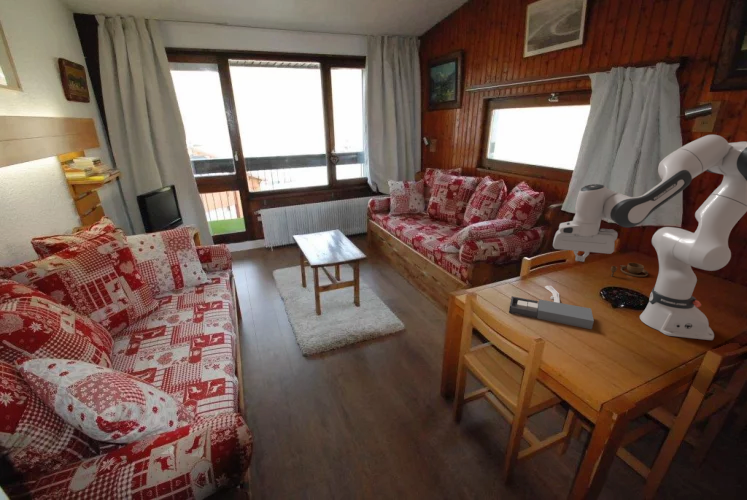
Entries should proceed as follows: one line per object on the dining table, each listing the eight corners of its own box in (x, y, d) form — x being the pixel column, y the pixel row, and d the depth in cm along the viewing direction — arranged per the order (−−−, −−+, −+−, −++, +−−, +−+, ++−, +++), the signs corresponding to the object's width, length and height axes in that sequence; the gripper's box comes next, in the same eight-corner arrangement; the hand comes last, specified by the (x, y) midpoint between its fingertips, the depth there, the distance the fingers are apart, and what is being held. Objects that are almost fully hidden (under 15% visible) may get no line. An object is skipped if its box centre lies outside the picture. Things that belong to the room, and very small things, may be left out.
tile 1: (517, 300, 149) (517, 304, 150) (517, 304, 146) (516, 309, 147) (527, 301, 147) (526, 306, 148) (527, 306, 144) (526, 311, 145)
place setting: (654, 281, 168) (658, 271, 166) (610, 278, 174) (612, 268, 171) (638, 267, 184) (641, 258, 182) (598, 264, 189) (600, 255, 187)
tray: (536, 306, 149) (537, 301, 148) (536, 318, 141) (537, 312, 140) (510, 301, 154) (511, 296, 153) (508, 312, 146) (509, 306, 145)
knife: (541, 278, 174) (558, 280, 170) (541, 281, 174) (557, 283, 171) (541, 304, 148) (560, 307, 145) (540, 307, 149) (560, 311, 146)
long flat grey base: (588, 316, 141) (590, 308, 140) (591, 329, 133) (593, 321, 131) (537, 306, 149) (538, 299, 148) (537, 318, 141) (538, 310, 140)
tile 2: (537, 308, 147) (538, 303, 146) (536, 312, 143) (537, 308, 142) (527, 306, 148) (528, 301, 148) (526, 310, 145) (527, 305, 144)
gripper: (617, 227, 123) (610, 260, 129) (555, 223, 132) (551, 254, 137) (620, 232, 118) (612, 267, 123) (555, 228, 127) (551, 260, 132)
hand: (579, 260), depth 130 cm, fingers closed
